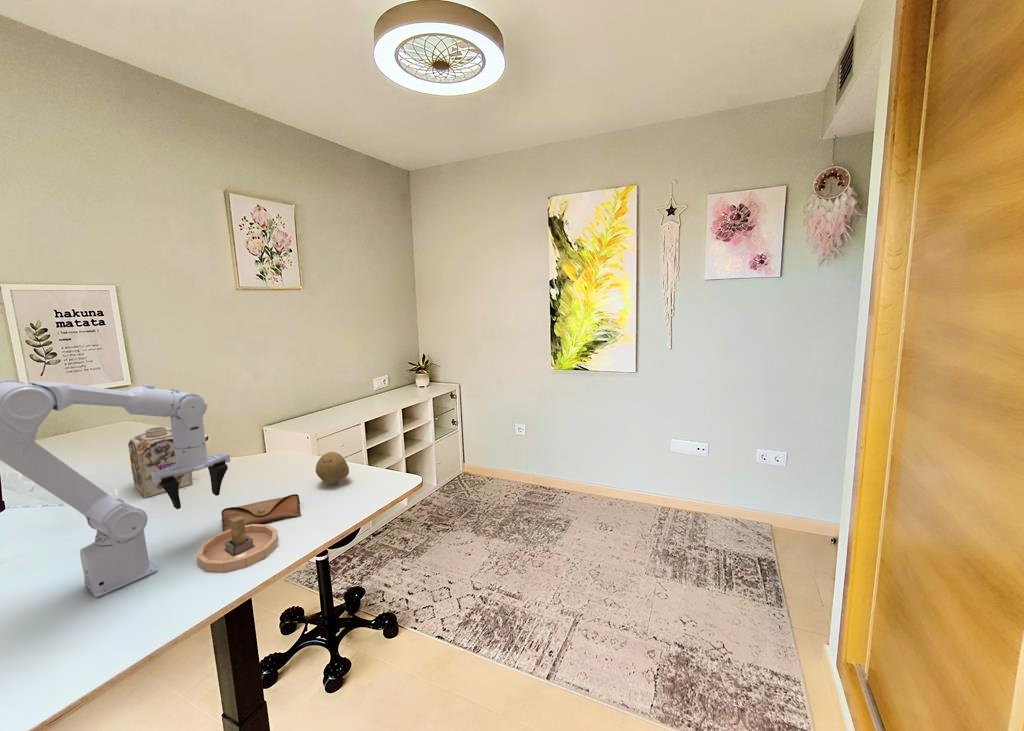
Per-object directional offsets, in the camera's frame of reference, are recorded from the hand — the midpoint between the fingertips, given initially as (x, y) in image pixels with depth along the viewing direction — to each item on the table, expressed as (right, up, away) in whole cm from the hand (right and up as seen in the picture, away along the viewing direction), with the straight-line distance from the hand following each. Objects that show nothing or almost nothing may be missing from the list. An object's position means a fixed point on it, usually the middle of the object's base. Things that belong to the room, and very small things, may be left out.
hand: (197, 500), depth 98 cm
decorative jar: (-31, -5, +29) cm, 43 cm away
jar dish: (+11, -11, -2) cm, 16 cm away
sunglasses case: (+8, -9, +12) cm, 17 cm away
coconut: (+18, -5, +31) cm, 36 cm away
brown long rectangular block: (+11, -10, -2) cm, 15 cm away
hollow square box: (+11, -11, -2) cm, 16 cm away
